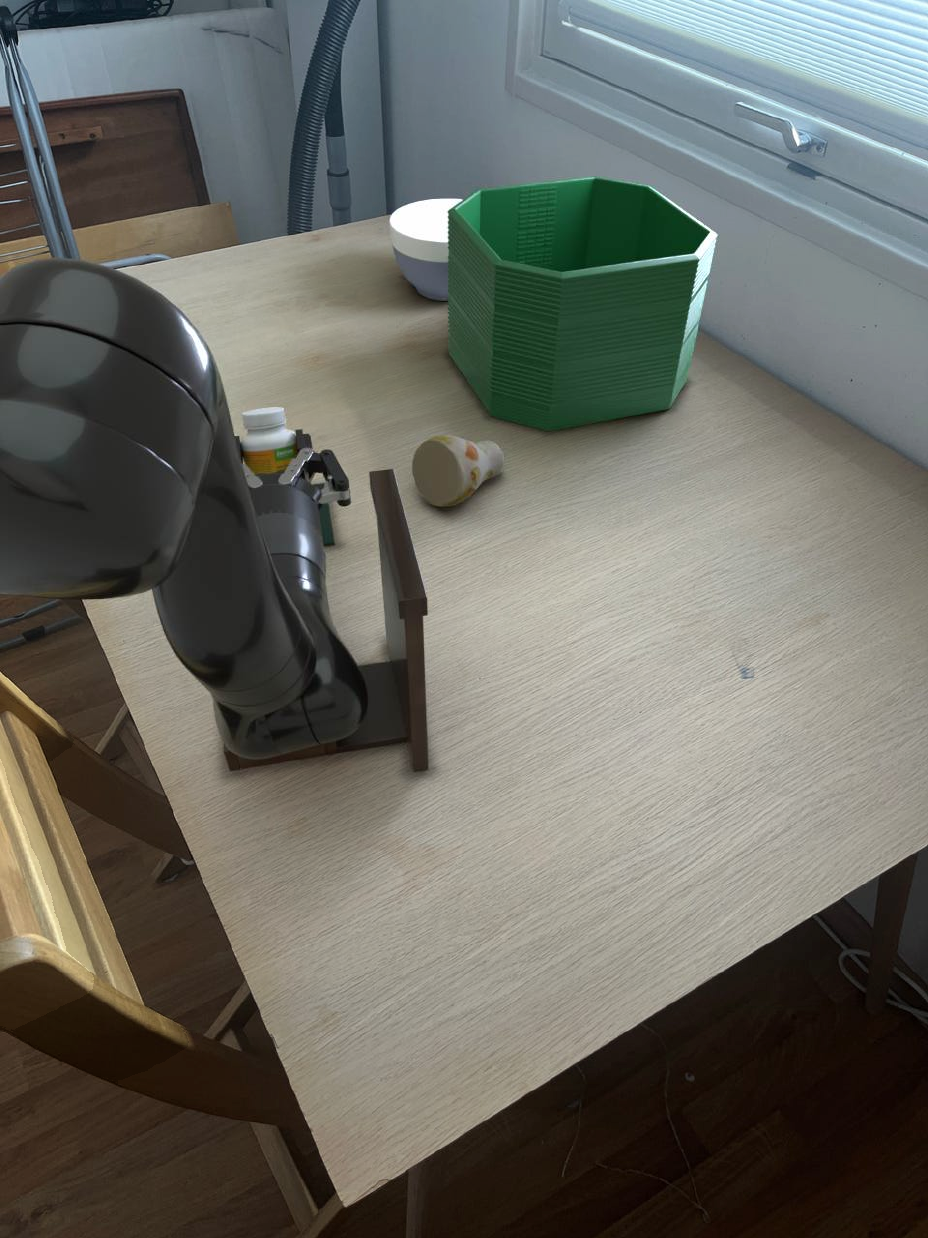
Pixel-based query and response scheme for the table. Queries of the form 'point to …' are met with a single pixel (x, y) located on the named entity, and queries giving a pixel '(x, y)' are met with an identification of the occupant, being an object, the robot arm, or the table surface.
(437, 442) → the fruit print bud vase
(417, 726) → the stand
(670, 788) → the table surface
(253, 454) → the supplement bottle
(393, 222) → the bowl
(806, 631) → the table surface
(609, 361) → the planter
